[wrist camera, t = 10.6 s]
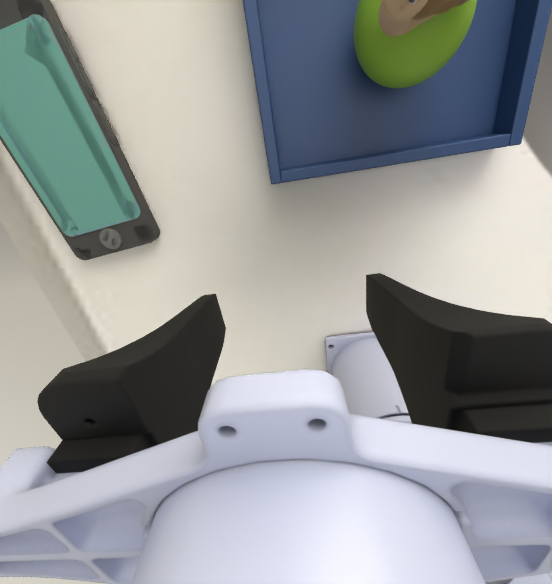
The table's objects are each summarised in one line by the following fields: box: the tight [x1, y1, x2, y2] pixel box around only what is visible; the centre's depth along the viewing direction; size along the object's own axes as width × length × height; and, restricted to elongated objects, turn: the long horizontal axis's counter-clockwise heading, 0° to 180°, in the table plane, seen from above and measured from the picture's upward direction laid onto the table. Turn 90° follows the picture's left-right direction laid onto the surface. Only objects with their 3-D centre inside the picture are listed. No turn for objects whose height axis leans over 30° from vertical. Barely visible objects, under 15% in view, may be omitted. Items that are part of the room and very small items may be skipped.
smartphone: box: [0, 0, 160, 260], centre depth 20 cm, size 7×1×15 cm
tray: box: [243, 0, 552, 184], centre depth 16 cm, size 15×13×2 cm
